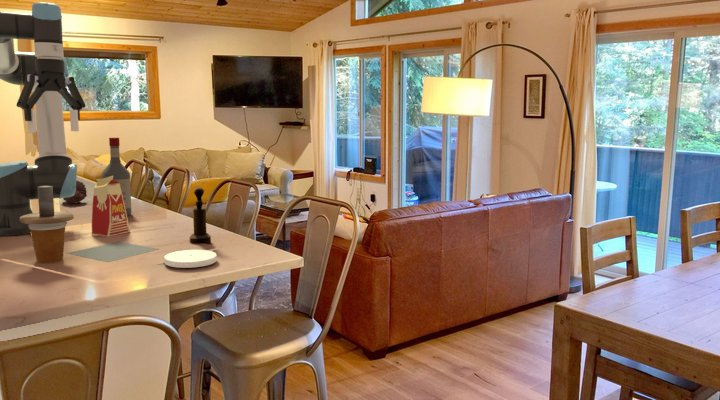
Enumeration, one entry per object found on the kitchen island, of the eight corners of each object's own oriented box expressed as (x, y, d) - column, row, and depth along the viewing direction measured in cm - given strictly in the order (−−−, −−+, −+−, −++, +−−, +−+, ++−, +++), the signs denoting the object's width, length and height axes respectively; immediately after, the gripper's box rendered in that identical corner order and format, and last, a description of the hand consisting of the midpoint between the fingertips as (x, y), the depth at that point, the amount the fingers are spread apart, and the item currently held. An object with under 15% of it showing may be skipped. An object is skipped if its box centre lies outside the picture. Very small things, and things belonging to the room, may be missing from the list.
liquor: (132, 215, 235) (129, 138, 230) (108, 217, 230) (104, 138, 225) (127, 211, 242) (123, 137, 237) (102, 213, 237) (98, 137, 232)
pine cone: (56, 201, 265) (55, 178, 263) (80, 199, 271) (79, 177, 269) (67, 206, 251) (65, 182, 250) (92, 204, 258) (90, 181, 256)
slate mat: (66, 255, 174) (66, 253, 173) (118, 243, 189) (118, 241, 189) (108, 264, 165) (108, 262, 165) (159, 250, 180) (159, 248, 180)
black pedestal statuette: (191, 240, 194) (190, 185, 191) (212, 240, 195) (211, 185, 192) (187, 245, 187) (186, 188, 185) (209, 245, 188) (207, 188, 185)
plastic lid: (167, 273, 158) (167, 264, 158) (162, 260, 171) (161, 251, 170) (221, 268, 164) (220, 259, 163) (212, 256, 176) (211, 248, 176)
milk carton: (130, 233, 204) (127, 174, 200) (108, 238, 195) (105, 177, 192) (110, 230, 207) (107, 172, 204) (88, 235, 199) (85, 175, 196)
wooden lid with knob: (9, 220, 162) (6, 187, 160) (54, 213, 173) (52, 182, 171) (39, 226, 155) (37, 191, 154) (83, 218, 167) (82, 186, 165)
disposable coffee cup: (53, 267, 161) (50, 223, 159) (22, 265, 162) (19, 221, 161) (76, 259, 170) (74, 217, 168) (47, 256, 172) (44, 215, 170)
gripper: (15, 55, 163) (20, 134, 166) (95, 61, 184) (98, 131, 187) (-2, 55, 166) (4, 132, 170) (79, 61, 188) (83, 130, 191)
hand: (54, 132), depth 179 cm, fingers open, 13 cm apart
